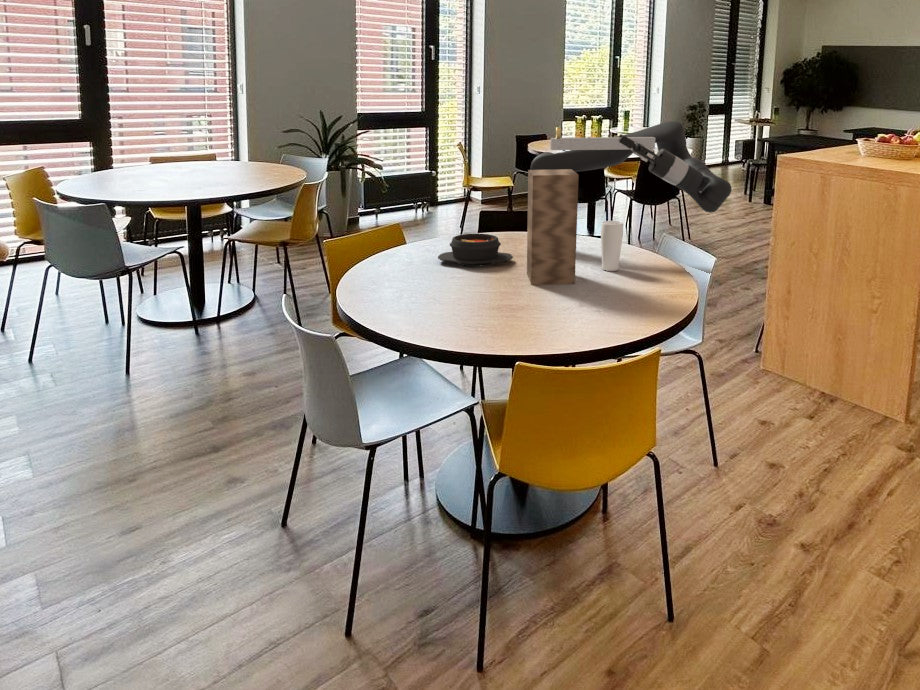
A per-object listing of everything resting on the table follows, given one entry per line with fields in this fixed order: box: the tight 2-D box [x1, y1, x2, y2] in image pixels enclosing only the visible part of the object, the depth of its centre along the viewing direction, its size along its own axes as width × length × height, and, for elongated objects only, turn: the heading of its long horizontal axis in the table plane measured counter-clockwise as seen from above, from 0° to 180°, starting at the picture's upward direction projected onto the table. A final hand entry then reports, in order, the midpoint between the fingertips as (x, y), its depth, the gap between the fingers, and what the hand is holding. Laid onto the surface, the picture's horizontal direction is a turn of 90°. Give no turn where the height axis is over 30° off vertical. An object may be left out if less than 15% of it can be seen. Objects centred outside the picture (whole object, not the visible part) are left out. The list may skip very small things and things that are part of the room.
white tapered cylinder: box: [600, 220, 624, 272], centre depth 250 cm, size 7×7×15 cm
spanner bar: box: [549, 126, 656, 151], centre depth 231 cm, size 30×3×6 cm, turn 90°
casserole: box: [437, 233, 514, 267], centre depth 263 cm, size 25×19×8 cm
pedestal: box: [526, 169, 579, 286], centre depth 237 cm, size 13×13×32 cm
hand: (620, 137), depth 231 cm, fingers closed on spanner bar, 3 cm apart
